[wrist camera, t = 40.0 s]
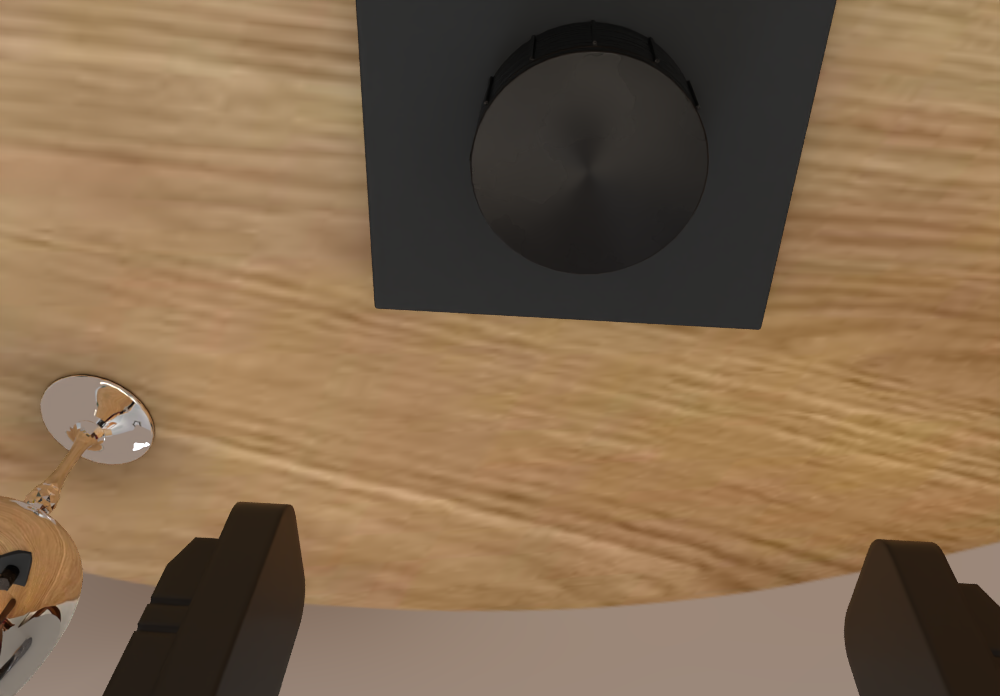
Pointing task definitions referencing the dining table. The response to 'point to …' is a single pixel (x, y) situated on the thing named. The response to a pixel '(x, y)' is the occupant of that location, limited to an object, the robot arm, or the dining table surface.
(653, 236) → the jar lid
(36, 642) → the wineglass
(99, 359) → the dining table surface
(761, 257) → the mat
